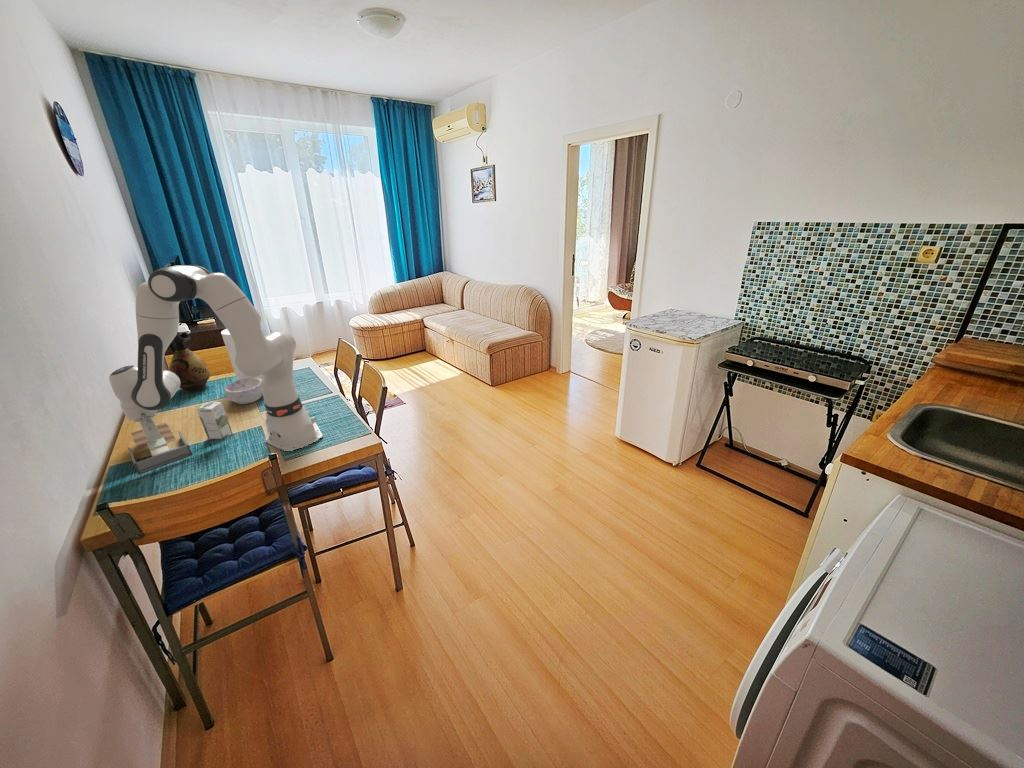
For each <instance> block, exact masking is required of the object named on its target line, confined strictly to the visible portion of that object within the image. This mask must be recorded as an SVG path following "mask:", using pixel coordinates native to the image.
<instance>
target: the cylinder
mask: <svg viewBox="0 0 1024 768" xmlns="http://www.w3.org/2000/svg"><path fill="white" fill-rule="evenodd" d="M220 334H221V336H222V337H221V338H222V340H223V343H224V345H225V349H226V352H227V354H228V355H227V356H228V357H229V359H230V363H231V366H232V369H233V371H234V374H235V378H236V381H238V380H241V379H246V378H259V379H261V380H262V376H263V374H262V375H259V376H255V377H252V376H247V375H245V374H243V373H242V372H241V371H240V370H239V369H238V368H237V366H236V364H235V357H236V348H235V345H234V342H233V339H232V337H231V335H230V333H229V331H228V330H227V328H225V329H223V330H221V332H220Z"/></svg>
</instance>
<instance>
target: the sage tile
mask: <svg viewBox="0 0 1024 768" xmlns="http://www.w3.org/2000/svg"><path fill="white" fill-rule="evenodd" d="M147 445H148V447H149V449H148V450H149V451H150V450H153V449H156V448H159V447H162V446H165V445H167V446H168V443H166V441H165V439H164V437H163V438H161V439H159V440H156V441H153V442H148V443H147ZM168 447H169V446H168Z"/></svg>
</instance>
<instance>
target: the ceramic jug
mask: <svg viewBox="0 0 1024 768" xmlns="http://www.w3.org/2000/svg"><path fill="white" fill-rule="evenodd" d="M190 340H191V336H190V335H189V334H188V333H187V332H182V333H181V334H180V332H179V330H178V331H177V335H176V336H175V338H174V339H173V340H172V342H171V343H170V345H169V346H168V347H169V348H170V350H171V351H172V357H171V360H170V363H169V367H168V371H171V372H173V373H175V374H176V375H177V376H178V377H179V378H180V381H181V385H180V387H179V388H180V389H181V390H182V391H183V392H184V393H193V392H198V391H202V390H203V389H204V388H206V386H207V382H208V381H209V380H210V379H209V378H210V376H211V375H210V374H211V373H210V370H209V367H208V366H207V364H206V362H205V361H204V360H203V359H202V358H201V357H200V356H198V355H197V354H196V353H195V352H193V351H192V350H190V349H189V348H188V347H186V345H185V342H187V341H190Z"/></svg>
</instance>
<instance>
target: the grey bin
mask: <svg viewBox="0 0 1024 768" xmlns="http://www.w3.org/2000/svg"><path fill="white" fill-rule="evenodd" d="M177 431H178V430H177ZM178 435H179V437H180V439H181V441H182V443H183V444H184V445H181V446H180V447H176V448H174V449H171V450H170V451H168V452H165V453H162V454H159V455H156V456H153V457H152V456H151V457H147V458H146V459H142V460H140V461H137V460H136V457H135V454H134V451H132V448H131V447H127V449H128V452H129V455H130V458H131V461H132V463H133V466H134V468H135V470H136V472H137V474H138V475H139V476H141V475H143V474H147V473H148V472H151V471H154V470H156V469H158V468H159V469H160V468H162V467H165V466H167V465H169V464H170V465H171V464H173V463H176V462H179V461H181V460H184V459H186V458H188V457H191V456H194V455H193V453H192V450H191V448H190V446H189V444H188V441H187V440H186V439H185V437H184V435H183V433H181V430H179V431H178Z"/></svg>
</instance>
